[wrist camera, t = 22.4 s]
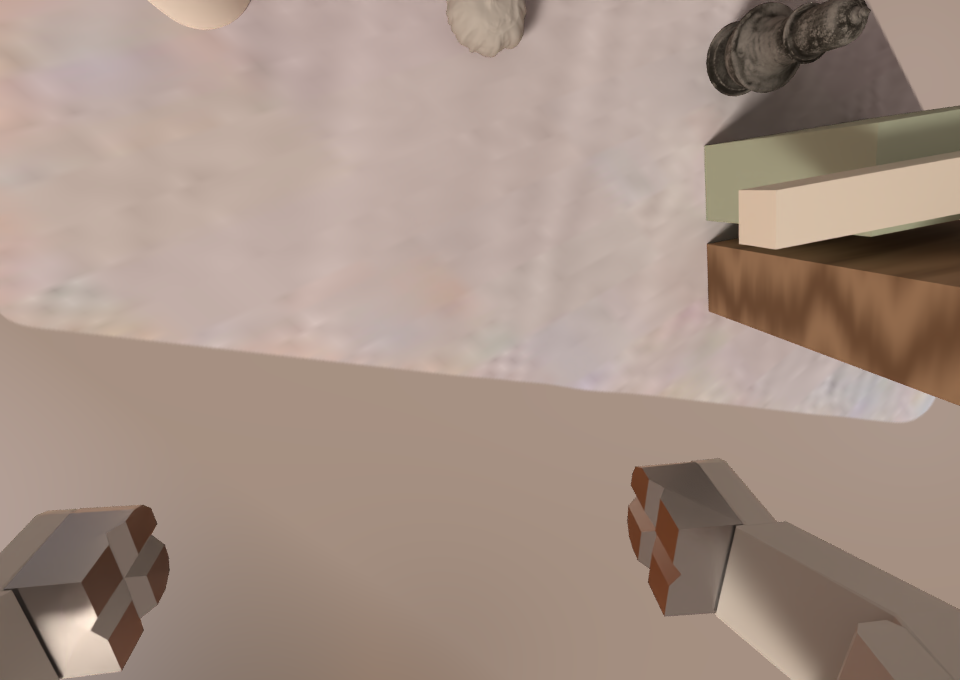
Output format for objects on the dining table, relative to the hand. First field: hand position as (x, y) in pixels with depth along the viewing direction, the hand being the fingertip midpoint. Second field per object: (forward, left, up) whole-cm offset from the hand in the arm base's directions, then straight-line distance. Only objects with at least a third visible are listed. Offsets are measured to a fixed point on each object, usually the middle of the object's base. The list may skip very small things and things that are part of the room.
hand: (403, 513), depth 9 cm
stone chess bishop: (-11, +30, -34) cm, 47 cm away
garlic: (-16, +10, -34) cm, 39 cm away
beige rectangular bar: (-1, +29, -18) cm, 34 cm away
